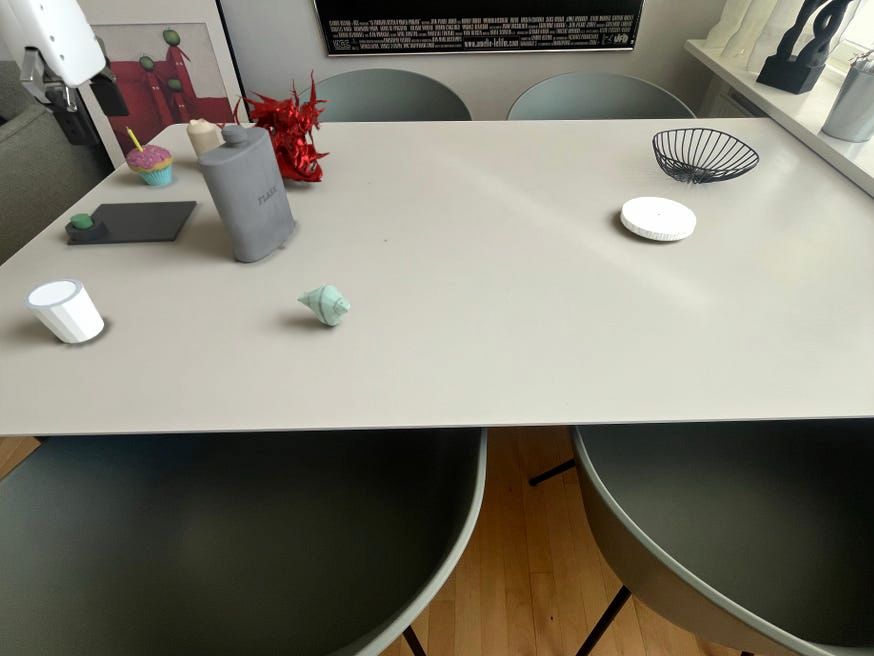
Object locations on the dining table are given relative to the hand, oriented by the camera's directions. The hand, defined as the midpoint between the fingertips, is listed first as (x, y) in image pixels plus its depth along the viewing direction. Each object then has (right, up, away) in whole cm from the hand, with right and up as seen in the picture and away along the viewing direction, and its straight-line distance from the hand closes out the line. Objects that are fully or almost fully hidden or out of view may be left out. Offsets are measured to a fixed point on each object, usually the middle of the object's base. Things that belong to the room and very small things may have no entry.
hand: (102, 129), depth 63 cm
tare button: (-22, -6, +24) cm, 33 cm away
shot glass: (-9, -26, +8) cm, 29 cm away
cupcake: (-20, +8, +41) cm, 46 cm away
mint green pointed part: (+27, -25, +10) cm, 38 cm away
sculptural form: (+8, +14, +47) cm, 49 cm away
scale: (-16, -4, +28) cm, 33 cm away
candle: (-10, +13, +46) cm, 49 cm away
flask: (+11, -9, +25) cm, 29 cm away
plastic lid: (+84, -4, +32) cm, 90 cm away
